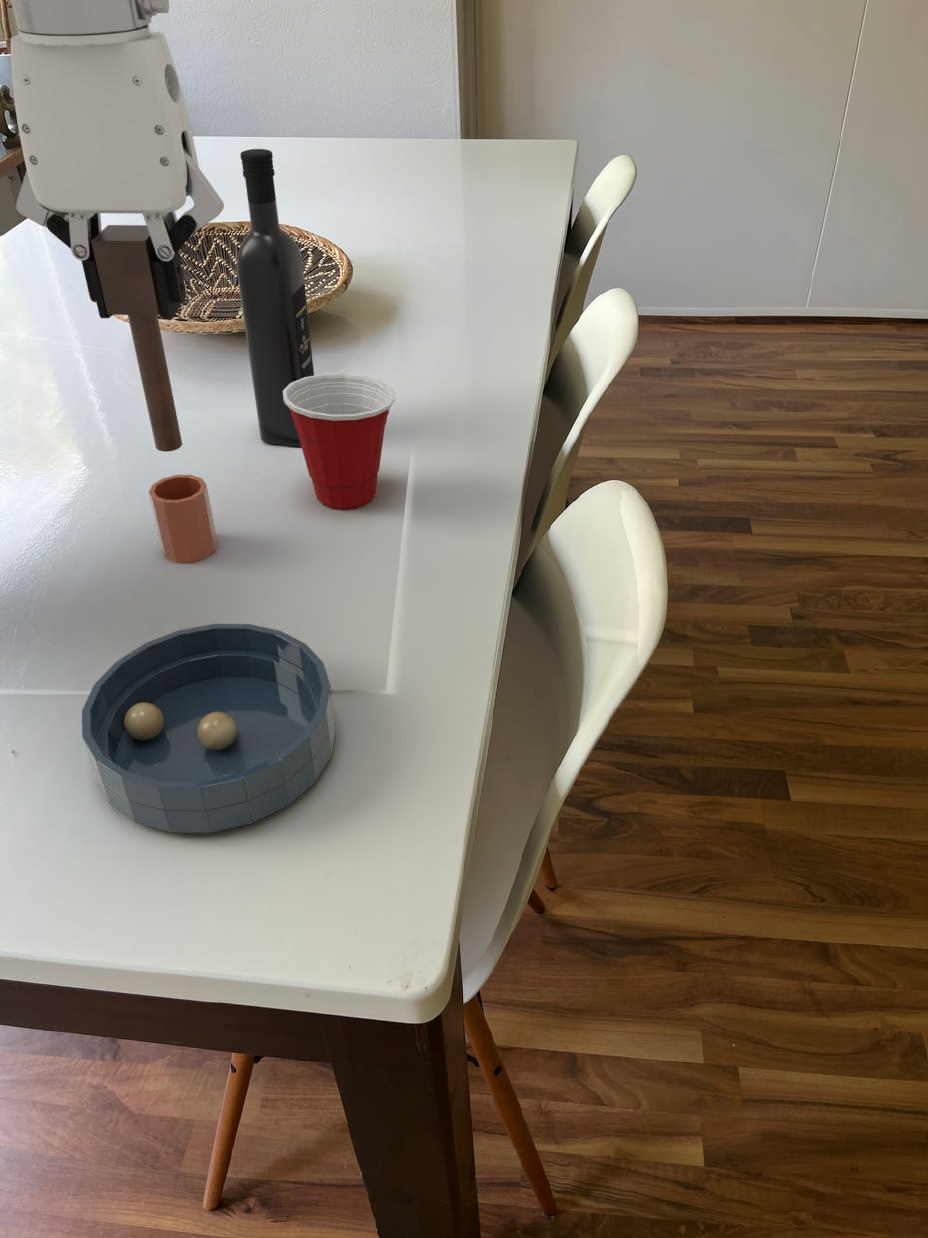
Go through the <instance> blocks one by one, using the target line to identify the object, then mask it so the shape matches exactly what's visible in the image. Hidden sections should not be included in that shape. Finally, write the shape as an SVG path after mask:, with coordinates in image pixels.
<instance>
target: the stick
mask: <svg viewBox="0 0 928 1238" xmlns="http://www.w3.org/2000/svg"><path fill="white" fill-rule="evenodd" d="M101 230H102V231H101V232H100V233H99V234H98V235H97V236H96V237H95V238H94V239H93V240H92V241H91V242H92V247H93V251H94V256H95V260H96V265H97V269H98V274H99V278H100V282H101V287H102V291H103V296H104V300H105V305H106V309H107V314H108V315H112V316H127V318H128V323H129V328H130V332H131V337H132V342H133V346H134V347H133V348H134V351H135V357H136V362H137V366H138V370H139V374H140V380H141V384H142V389H143V390H142V391H143V394H144V399H145V403H146V407H147V413H148V417H149V421H150V423H149V424H150V427H151V431H152V436H153V440H154V445H155V449H156V450H157V451H160V452H166V453H167V452H174V451H177V450H179V449H181V447H182V446H183V439H182V436H181V430H180V425H179V419H178V415H177V409H176V405H175V400H174V394H173V390H172V383H171V379H170V373H169V368H168V363H167V357H166V353H165V346H164V343H163V336H162V333H161V327H160V322H159V317H158V316H160V309H159V304H158V299H157V294H156V288H155V283H154V278H153V273H152V267H151V264H152V262H153V261H154V260H155V254H154V250H155V249H154V246H153V243H152V240H151V237H150V234H149V231H148V228H147V225H146V224H143V225H141V224H139V225H138V224H135V225H134V224H108V225H106V226H105V227H104V228H103V229H101Z"/></svg>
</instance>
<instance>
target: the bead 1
mask: <svg viewBox="0 0 928 1238" xmlns="http://www.w3.org/2000/svg"><path fill="white" fill-rule="evenodd" d="M163 724H164V718H163V714H162V712H161V711H160V709H159V708H158V707H157V706H155V705H153V704H151V703H138V704H135V705H134V706H132V707H131V708H130V709H129V710H128V711H127V713H126V715H125V718H124V727H125V730H126V731H127V733H128V734H129V735H130V736H131V737H132V738H134V739H137V740H141V741H145V740H150V739H152V738H154V737H156V736H157V735H158V734H159V733H160V731H161V730H162V728H163Z"/></svg>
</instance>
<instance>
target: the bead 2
mask: <svg viewBox="0 0 928 1238" xmlns="http://www.w3.org/2000/svg"><path fill="white" fill-rule="evenodd" d="M197 732H198V737H199V740H200V742H201V743H202V744H203V745H204V746H205V747H207V748H209V749H211V750H222V749H225V748H227V747H229V746H230V745H231V744H232V743H233V742H234V740H235V738H236V735H237V726H236V723H235V721H234V720H233V718H232V717H231V716H230V715H228V714H226V713H224V712H212V713H209V714H207V715H206V716H205V717H204V718H203V719H202V720H201V721H200V723H199V725H198V731H197Z"/></svg>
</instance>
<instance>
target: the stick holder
mask: <svg viewBox="0 0 928 1238" xmlns="http://www.w3.org/2000/svg"><path fill="white" fill-rule="evenodd" d="M207 485H208V484H207V483H206V482H205V480H204V479H203V478H202V477H200V476H196V475H193V474H175V475H171V476H167V477H163V478H161V479H159V480H158V481H156V482H154V483H153V484H152V485H151V487H150V489H149V490H148V496H149V501H150V504H151V510H152V514H153V518H154V522H155V523H154V524H155V526H156V530H157V536H158V541H159V544H160V548H161V552H162V554H163V556H164V558H165V559H167V560H168V561H170V562H173V563H177V564H191V563H192V564H193V563H197V562H200V561H203V560H205V559H207V558H209V557H211V556H212V555H213V554H214V553H215V552H216V550H217V547H218V539H217V533H216V528H215V524H214V518H213V511H212V506H211V502H210V501H211V500H210V495H209V491H208V490H209V489H208V486H207Z"/></svg>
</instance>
